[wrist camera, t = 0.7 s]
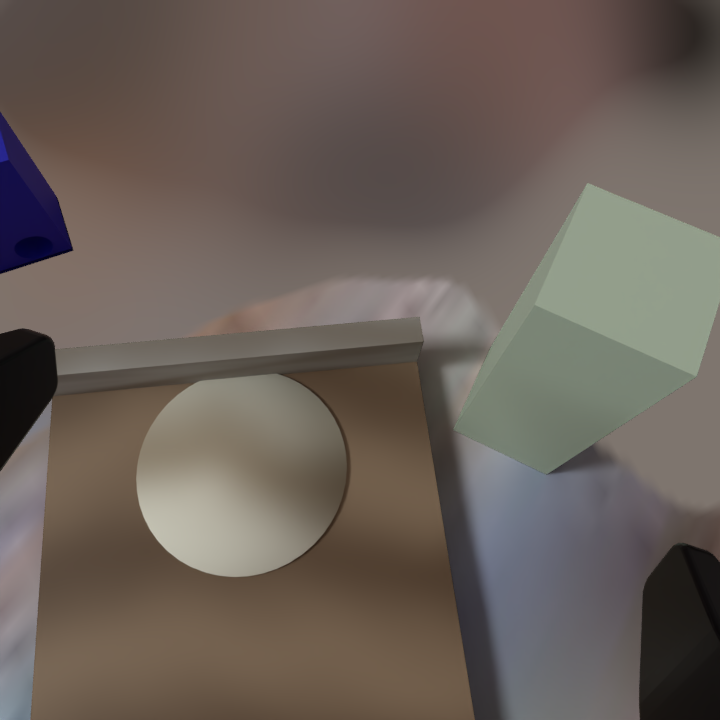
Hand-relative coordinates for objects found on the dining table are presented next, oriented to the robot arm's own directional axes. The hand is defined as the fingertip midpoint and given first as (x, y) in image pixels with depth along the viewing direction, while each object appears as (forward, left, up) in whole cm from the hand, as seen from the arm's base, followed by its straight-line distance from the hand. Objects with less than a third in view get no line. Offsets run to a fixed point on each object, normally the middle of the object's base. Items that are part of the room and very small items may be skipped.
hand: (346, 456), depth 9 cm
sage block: (+5, -8, -16) cm, 18 cm away
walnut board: (0, +3, -16) cm, 16 cm away
